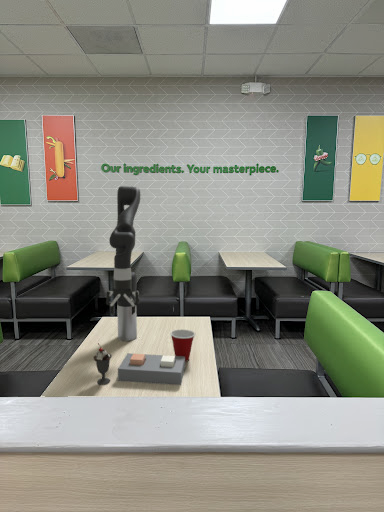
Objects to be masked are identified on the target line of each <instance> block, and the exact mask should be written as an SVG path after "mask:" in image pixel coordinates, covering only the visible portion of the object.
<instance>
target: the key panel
mask: <svg viewBox="0 0 384 512" xmlns="http://www.w3.org/2000/svg"><path fill="white" fill-rule="evenodd" d="M133 354H134V353H129V352H128V353H127V354H126V355H125V357H124V359H122V361H121V363H120V364H119V367H118V368H117V381H118V382H125V383H127V382H128V383H145V384H155V385H156V384H157V385H159V384H160V385H173V386H181V385H182V382H183V377H184V375H185V368H186V361H185V357H184V356H175V355H174V356H175V366H174V367H161V359H162V357H163V355H164V354H148V353H147V354H145V353H144V354H145V363H144V365H130V359H131V357H132V355H133ZM165 356H168V355H167V354H166V355H165Z"/></svg>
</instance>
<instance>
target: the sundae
mask: <svg viewBox="0 0 384 512" xmlns="http://www.w3.org/2000/svg"><path fill="white" fill-rule="evenodd" d="M97 345H99V347H100V348H98V350H97V352H96V354H95V355H94V356H93V361H95V364H96V368H97V372H98V373H99V374H101V378H99V379H98V380H96V384H98V385H99V386H105V385H106V386H107V385H108V384H110V382H111V379H110V378H108V377H106V373H108V371H109V369H110V364H111V363H110V361H111V359H112V358H113V357H112V356H113V355H112V354H110V353H108V352H107V350H105V349H103V348H102V347H101V345H100V343H97Z"/></svg>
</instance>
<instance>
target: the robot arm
mask: <svg viewBox="0 0 384 512" xmlns="http://www.w3.org/2000/svg"><path fill="white" fill-rule="evenodd" d="M116 200H117V205H116V206H117V209H116V211H117V219H116V221H117V222H116V226H115V228H114V229H113V231H112V232H111V233H110V237H109V245H110V246H111V248H112V249H115V254H114V258H113V262H114V263H113V265H114V266H113V267H114V268H113V269H114V270H113V280H112V285H113V286H112V287H113V291H112V290H107V291H106V294H105V295H106V296H105V297H106V298H105V299H106V300H105V305H107V306H110V313H111V314H112V315H113V316H114V315H115V312H117V314H116V315H117V339H118V340H119V341H123V342H128V341H133V340H135V339H137V338H138V337H137V336H138V333H137V332H138V329H137V326H138V324H137V322H138V321H137V320H138V319H137V317H138V315H137V306H139V305H140V292H139V290H137V285H138V284H137V282H138V279H137V277H138V276H137V273H136V272H134V271H132V266H131V262H132V261H131V260H132V253H133V250H134V248H135V245H136V230H135V228H134V222H135V217H136V214H137V212H138V209H139V206H140V203H141V190H140V188H139V187H137V186H126V185H123V186H121V185H120V186H119V187H118V188H117V197H116ZM125 206H127V207H126V208H125ZM112 295H113V296H114V299H113V300H112V301H111V297H112ZM115 304H116V305H117V306H116V307H117V308H115ZM115 309H117V310H116V311H115Z"/></svg>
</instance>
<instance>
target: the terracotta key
mask: <svg viewBox="0 0 384 512" xmlns="http://www.w3.org/2000/svg"><path fill="white" fill-rule="evenodd" d="M132 354H133V355H132V357H131V359H130V365H144V363H145V353H132Z"/></svg>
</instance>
